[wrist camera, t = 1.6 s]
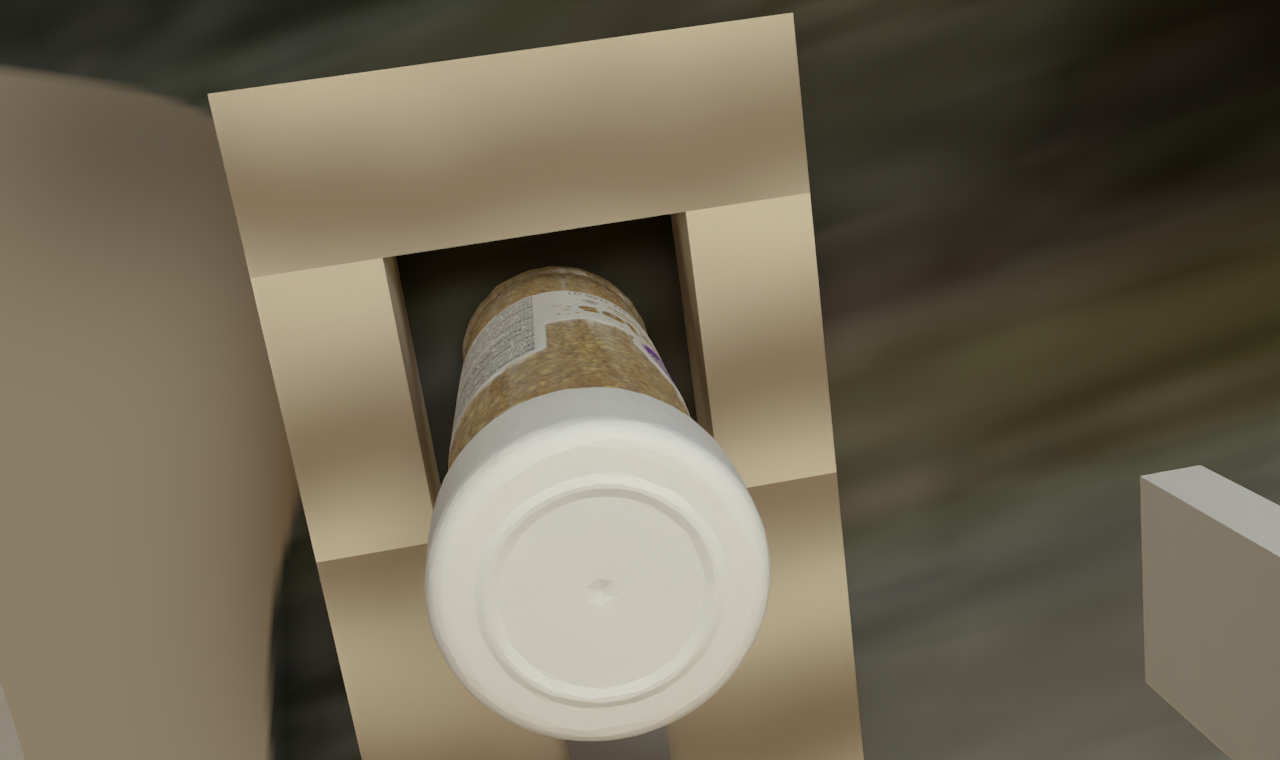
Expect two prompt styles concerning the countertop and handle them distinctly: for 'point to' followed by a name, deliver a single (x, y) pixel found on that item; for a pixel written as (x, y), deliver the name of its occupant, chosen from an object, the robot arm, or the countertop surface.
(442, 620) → the sprinkles bottle
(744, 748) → the holder block
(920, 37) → the countertop surface
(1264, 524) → the robot arm
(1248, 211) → the countertop surface
